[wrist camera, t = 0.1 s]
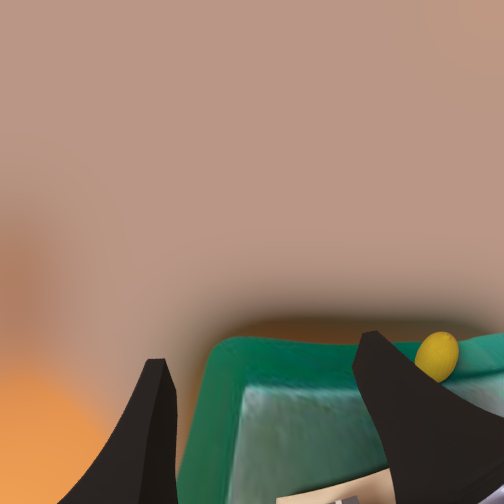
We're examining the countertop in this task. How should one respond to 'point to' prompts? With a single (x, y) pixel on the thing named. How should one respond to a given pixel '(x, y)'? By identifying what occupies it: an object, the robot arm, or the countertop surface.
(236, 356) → the countertop surface
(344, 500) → the fader
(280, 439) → the countertop surface
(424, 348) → the lemon
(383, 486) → the console
